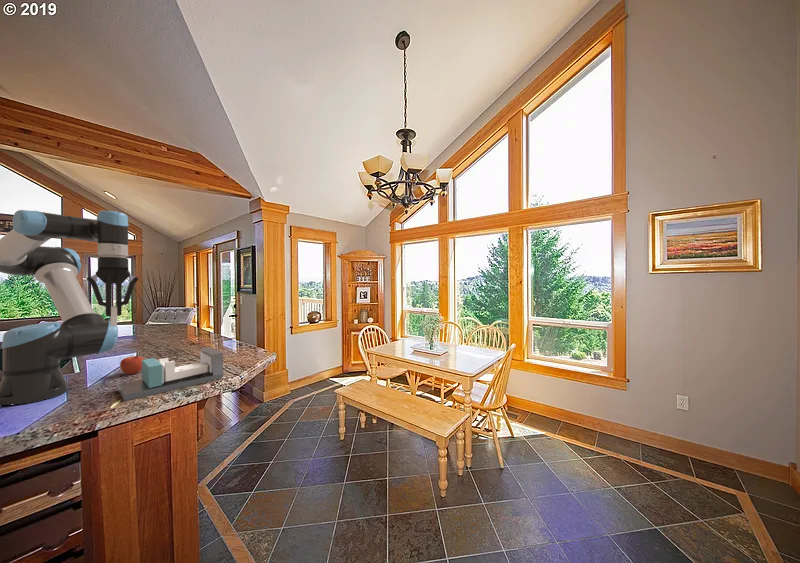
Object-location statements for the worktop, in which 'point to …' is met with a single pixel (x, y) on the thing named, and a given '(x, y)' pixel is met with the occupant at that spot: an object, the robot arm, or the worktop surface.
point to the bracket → (181, 369)
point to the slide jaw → (152, 372)
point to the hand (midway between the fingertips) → (113, 325)
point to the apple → (131, 364)
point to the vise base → (162, 386)
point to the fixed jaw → (212, 360)
